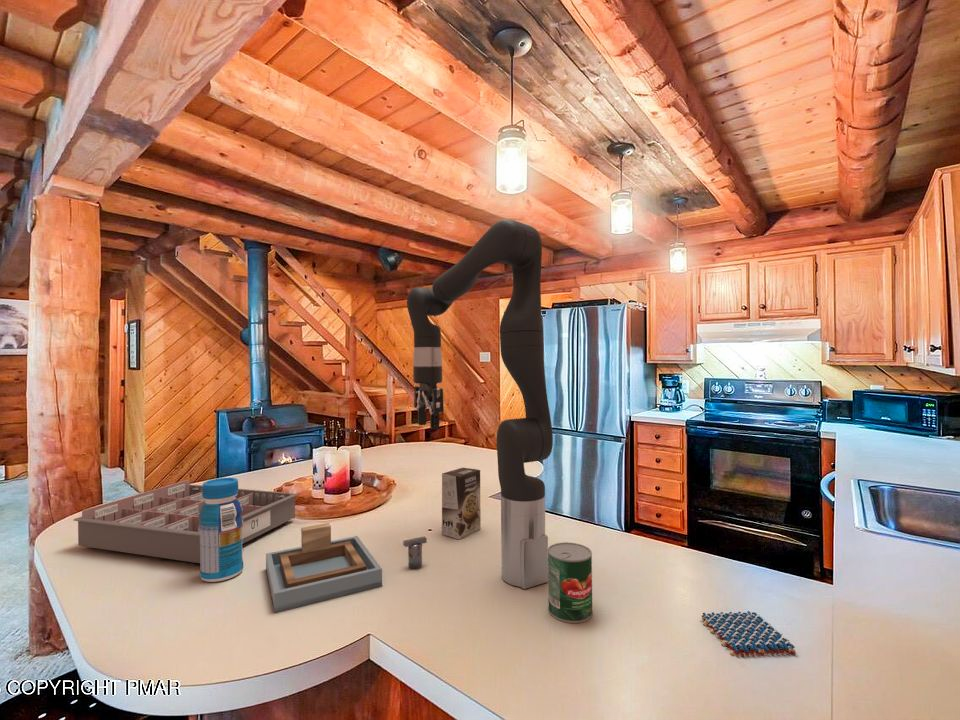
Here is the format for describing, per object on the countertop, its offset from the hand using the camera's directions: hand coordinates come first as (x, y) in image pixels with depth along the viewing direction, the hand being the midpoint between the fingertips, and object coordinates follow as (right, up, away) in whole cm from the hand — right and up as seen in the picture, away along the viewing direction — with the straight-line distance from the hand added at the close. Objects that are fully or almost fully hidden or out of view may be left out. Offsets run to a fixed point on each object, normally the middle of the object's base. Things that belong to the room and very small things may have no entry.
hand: (428, 426), depth 121 cm
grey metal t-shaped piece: (-1, -28, -19) cm, 34 cm away
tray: (-20, -28, -23) cm, 42 cm away
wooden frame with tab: (-20, -27, -23) cm, 41 cm away
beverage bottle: (-42, -29, -22) cm, 55 cm away
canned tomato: (+30, -28, -37) cm, 55 cm away
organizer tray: (-62, -29, +1) cm, 68 cm away
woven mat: (+57, -29, -45) cm, 78 cm away
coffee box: (+9, -28, +1) cm, 30 cm away
